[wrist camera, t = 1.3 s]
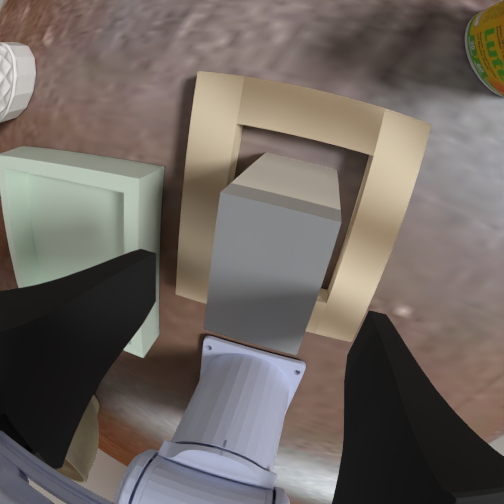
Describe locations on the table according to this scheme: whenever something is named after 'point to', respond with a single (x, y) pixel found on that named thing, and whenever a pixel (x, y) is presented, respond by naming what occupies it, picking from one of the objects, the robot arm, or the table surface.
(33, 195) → the tray
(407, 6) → the table surface
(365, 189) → the frame
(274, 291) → the block
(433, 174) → the table surface
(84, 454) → the planter bowl
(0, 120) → the white cup
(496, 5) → the supplement bottle
